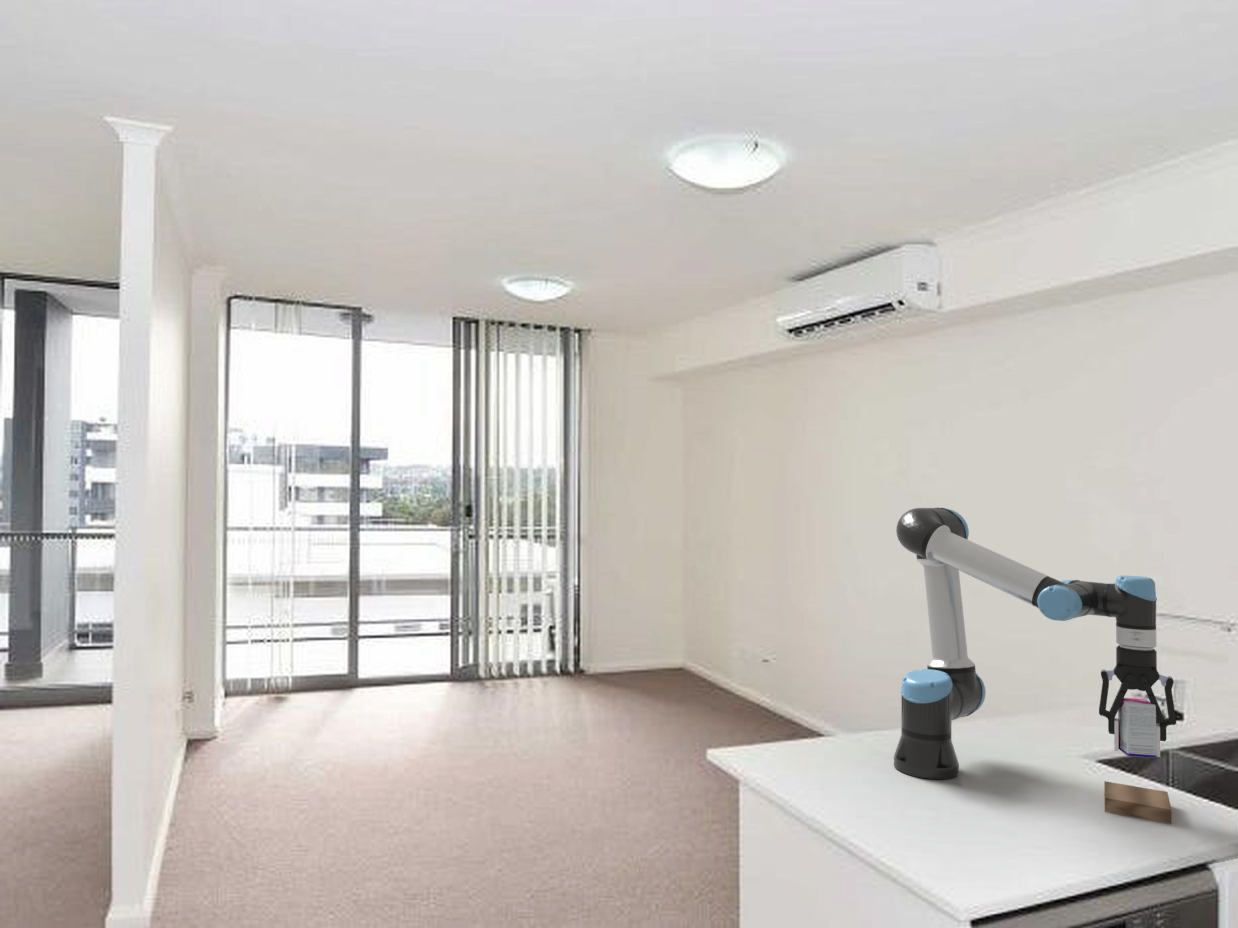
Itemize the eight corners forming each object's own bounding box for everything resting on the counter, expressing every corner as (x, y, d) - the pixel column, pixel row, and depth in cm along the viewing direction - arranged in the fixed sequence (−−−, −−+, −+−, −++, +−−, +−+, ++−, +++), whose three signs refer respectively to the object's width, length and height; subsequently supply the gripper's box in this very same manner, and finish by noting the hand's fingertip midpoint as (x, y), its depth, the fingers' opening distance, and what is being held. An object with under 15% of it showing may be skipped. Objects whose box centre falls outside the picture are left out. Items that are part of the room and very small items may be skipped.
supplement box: (1158, 758, 175) (1156, 704, 176) (1127, 756, 177) (1126, 702, 177) (1146, 750, 181) (1145, 697, 182) (1117, 748, 182) (1115, 696, 183)
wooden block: (1104, 811, 176) (1104, 797, 177) (1104, 794, 187) (1104, 780, 187) (1171, 823, 170) (1171, 809, 170) (1167, 805, 181) (1167, 791, 181)
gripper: (1083, 644, 182) (1084, 748, 181) (1192, 654, 171) (1193, 765, 171) (1084, 639, 188) (1084, 740, 187) (1189, 649, 178) (1190, 755, 177)
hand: (1136, 751), depth 179 cm, fingers closed on supplement box, 7 cm apart
